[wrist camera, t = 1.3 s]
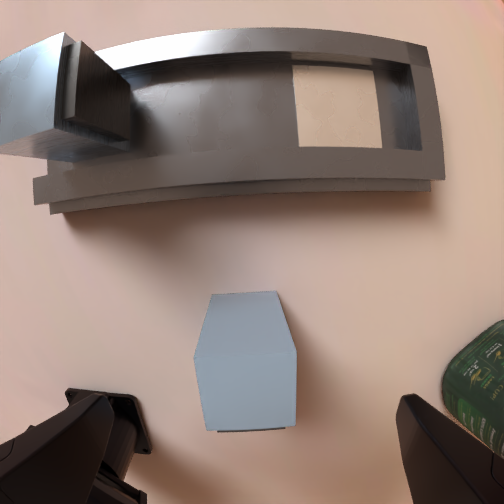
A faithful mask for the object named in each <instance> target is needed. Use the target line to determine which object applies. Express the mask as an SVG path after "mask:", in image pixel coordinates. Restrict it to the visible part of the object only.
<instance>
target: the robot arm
mask: <svg viewBox="0 0 504 504" xmlns="http://www.w3.org/2000/svg"><path fill="white" fill-rule="evenodd" d="M71 394H72V395H71ZM65 395H66V398H67V400H68V403H69V406H68V407H67V408H66V409H65V410H64V411H62V412H60V413H58V414H57V415H55V416H53V417H51V418H49V419H48V420H46V421H44V422H42V423H40V424H39V425H37V426H32V425H30V426H29V427H28V429H27V430H26V431H25V432H24V433H22V434H20V435H18V436H16V437H15V438H13V439H11V440H9V441H7V442H5V443H3V444H1V445H0V504H147V494H146V493H145V492H143V491H141V490H137V489H136V488H134V487H132V486H131V485H129V484H127V483H126V482H124V478H125V475H126V472H127V470H128V467H129V464H130V462H131V459H132V456H133V454H134V453H139V454H151V451H152V447H151V444H150V441H149V438H148V435H147V432H146V429H145V427H144V423H143V420H142V417H141V414H140V411H139V408H138V405H137V401H136V399H135V397H134V396H132V395H129V394H117V393H106V392H99V391H90V390H82V389H81V390H80V389H73V388H68V389H67V390H66V391H65ZM128 400H130V401H131V402H129V401H128ZM396 424H397V430H398V436H399V442H400V448H401V455H402V461H403V465H404V469H405V473H406V477H407V480H408V484H409V488H410V492H411V496H412V500H413V504H504V459H503V458H502V457H501V456H499V455H498V454H497V453H495V452H493V451H492V450H491V449H490V448H488V447H487V446H485V445H484V444H483V443H481V442H480V441H479V440H477V439H476V438H475V437H473V436H472V435H470V434H469V433H468V432H466V431H465V430H464V429H462V428H461V427H460V426H458V425H457V424H456V423H454V422H453V421H452V420H450V419H449V418H448V417H446V416H445V415H443V414H442V413H441V412H439V411H438V410H437V409H435V408H434V407H433V406H431V405H430V404H429V403H427V402H426V401H425V400H423V399H422V398H421V397H419V396H418V395H417V394H414V393H413V394H407V395H403V396H402V397H401V399H400V402H399V406H398V410H397V413H396Z"/></svg>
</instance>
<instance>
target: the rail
mask: <svg viewBox="0 0 504 504" xmlns="http://www.w3.org/2000/svg"><path fill="white" fill-rule="evenodd" d="M0 154H5V155H14V156H23V157H32V158H40V159H47V166H48V175H46V176H41V177H37V178H33V194H34V205H41V204H49V207H50V215H51V214H58V213H65V212H72V211H79V210H87V209H94V208H102V207H111V206H119V205H128V204H137V203H147V202H157V201H168V200H179V199H191V198H203V197H217V196H232V195H249V194H268V193H291V192H322V191H429V192H431V186H430V180H445V166H444V152H443V141H442V131H441V123H440V115H439V108H438V101H437V95H436V89H435V84H434V78H433V73H432V68H431V64H430V59H429V55H428V51H427V47H426V46H422V45H417V44H413V43H409V42H404V41H400V40H395V39H389V38H384V37H378V36H372V35H366V34H359V33H351V32H343V31H333V30H322V29H307V28H236V29H221V30H210V31H200V32H191V33H184V34H177V35H170V36H164V37H158V38H153V39H147V40H142V41H138V42H133V43H129V44H124V45H120V46H116V47H112V48H108V49H104V50H101V51H97V52H94V51H93V50H91V49H90V48H89V47H88V46H87V45H86V44H85V43H84V42H82V41H79V42H75V41H74V40H73V39H72V38H70V37H69V36H68V35H67V34H66V33H64V32H63V33H60V34H58V35H55V36H53V37H50V38H48V39H45V40H43V41H41V42H38V43H36V44H34V45H32V46H29V47H27V48H25V49H23V50H21V51H19V52H17V53H15V54H13V55H11V56H9V57H7V58H5V59H3V60H1V61H0Z"/></svg>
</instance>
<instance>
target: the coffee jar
mask: <svg viewBox="0 0 504 504" xmlns="http://www.w3.org/2000/svg"><path fill="white" fill-rule="evenodd" d="M442 391H443V398H444V402H445V405H446V407H447V409H448V410H449V412H450V413H451V414H452V415H453V416H454V417H455V418H456V419H457V420H458V421H459V422H460V423H462V424H463V425H464V426H465V427H466V428H467V429H468V430H470V431H471V432H472V433H473V434H474V435H476V436H477V437H478V438H479V439H480V440H481V441H482V442H484V443H485V444H486V445H487V446H488V447H489V448H490V449H492V450H493V451H494V452H495V453H497V454H498V455H499V456H501V457H502V458H503V459H504V320H501V321H499V322H497V323H495V324H494V325H492V326H491V327H489V328H488V329H487V330H486V331H484V332H483V333H481V334H480V335H479V336H478V337H477V338H475V339H474V340H473V341H472V342H471V343H469V344H468V345H467V346H466V347H465V348H464V349H463V350H462V351H460V352H459V353H458V354H457V355H456V356H455V357H454V358H453V360H452V361H451V362H450V364H449V365H448V368H447V370H446V372H445V375H444V378H443V384H442Z"/></svg>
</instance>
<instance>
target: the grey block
mask: <svg viewBox="0 0 504 504" xmlns="http://www.w3.org/2000/svg"><path fill="white" fill-rule="evenodd" d="M194 363H195V369H196V375H197V381H198V387H199V393H200V398H201V404H202V410H203V415H204V420H205V425H206V430H207V431H217V432H248V431H265V430H277V429H285V427H288V426H295V425H296V371H297V351H296V348H295V345H294V342H293V339H292V336H291V333H290V330H289V328H288V325H287V322H286V319H285V316H284V313H283V310H282V307H281V304H280V301H279V298H278V295H277V292H276V291H265V292H249V293H232V294H212V296H211V300H210V303H209V306H208V310H207V313H206V317H205V320H204V324H203V327H202V330H201V334H200V337H199V341H198V344H197V348H196V351H195V355H194Z"/></svg>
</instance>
